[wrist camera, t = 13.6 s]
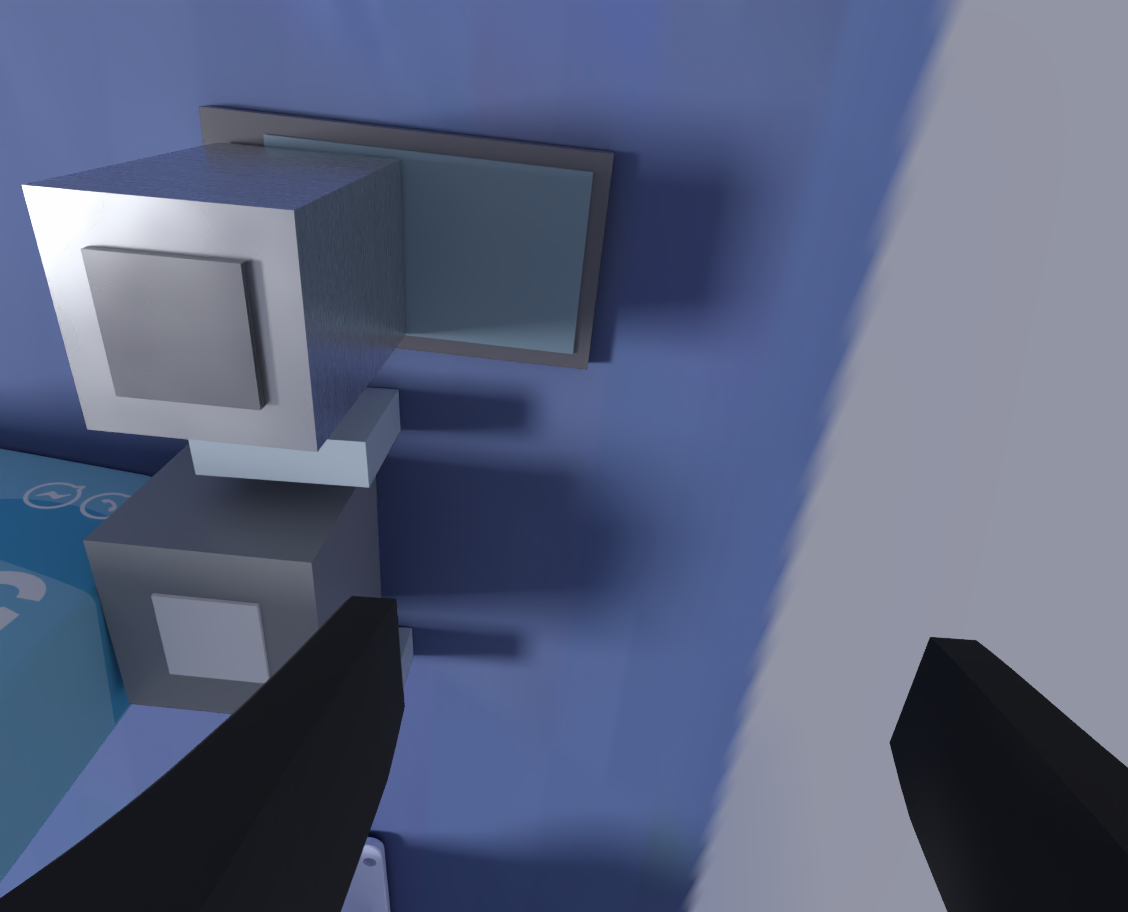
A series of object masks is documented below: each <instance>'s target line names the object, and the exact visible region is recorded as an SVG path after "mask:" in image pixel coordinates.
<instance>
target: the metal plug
mask: <svg viewBox="0 0 1128 912" xmlns="http://www.w3.org/2000/svg"><path fill="white" fill-rule="evenodd" d="M22 188H23V192H24V195H25V199H26V203H27V207H28V210H29V214H30V218H31V222H32V225H33V229H34V233H35V236H36V240H37V244H38V248H39V251H40V255H41V259H42V262H43V266H44V270H45V274H46V277H47V281H48V285H49V288H50V292H51V296H52V300H53V303H54V307H55V311H56V315H57V318H58V322H59V326H60V329H61V333H62V337H63V341H64V344H65V348H66V352H67V355H68V359H69V363H70V367H71V370H72V374H73V378H74V381H75V385H76V389H77V393H78V396H79V400H80V404H81V408H82V411H83V415H84V419H85V422H86V426H87V429H88V430H98V431H108V432H118V433H128V434H138V435H149V436H159V437H169V438H179V439H189V440H199V441H210V442H220V443H230V444H240V445H250V446H260V447H270V448H281V449H291V450H301V451H311V452H318V451H319V450H320V448H321V447H322V446H323V444H324V443H325V442H326V440H327V439H328V438H329V436H330V435H331V434H332V432H333V431H334V430H335V428H336V427H337V426H338V424H339V423H340V422H341V420H342V419H343V418H344V416H345V415H346V414H347V412H348V411H349V410H350V408H351V407H352V406H353V404H354V403H355V402H356V400H357V399H358V398H359V396H360V395H361V394H362V392H363V391H364V390H365V388H366V387H367V386H368V384H369V383H370V382H371V380H372V379H373V378H374V376H375V375H376V374H377V372H378V371H379V370H380V368H381V367H382V366H383V364H384V363H385V362H386V360H387V359H388V358H389V356H390V355H391V354H392V352H393V351H394V350H395V348H396V347H397V346H398V344H399V343H400V342H401V340H402V339H403V338H404V336H405V300H404V265H403V230H402V196H401V161H400V159H393V158H383V157H372V156H361V155H350V154H339V153H328V152H317V151H307V150H296V149H285V148H274V147H263V146H252V145H242V144H231V143H220V142H217V143H213V144H208V145H204V146H199V147H194V148H190V149H185V150H181V151H176V152H171V153H167V154H162V155H158V156H153V157H148V158H144V159H139V160H134V161H130V162H125V163H121V164H116V165H111V166H107V167H102V168H98V169H93V170H88V171H84V172H79V173H74V174H70V175H65V176H61V177H56V178H51V179H47V180H42V181H38V182H33V183H28V184H24V185H22Z"/></svg>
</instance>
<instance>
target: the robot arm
mask: <svg viewBox="0 0 1128 912" xmlns="http://www.w3.org/2000/svg"><path fill="white" fill-rule="evenodd" d="M404 707H405V705H404V692H403V679H402V667H401V654H400V641H399V628H398V616H397V603H396V599H389V598H375V597H361V596H351V597H350V598H349V599H347V600H346V601H345V602H344V603H343V604H342V605H341V606H340V607H339V608H338V609H337V610H336V611H335V612H334V613H333V614H332V615H331V616H330V617H329V618H328V619H327V621H326V622H325V623H324V624H323V625H322V626H321V627H320V628H319V629H318V630H317V631H316V632H315V633H314V634H313V635H312V636H311V637H310V638H309V639H308V640H307V641H306V642H305V643H304V644H303V645H302V646H301V647H300V648H299V650H298V651H297V652H296V653H295V654H294V655H293V656H292V657H291V658H290V659H289V660H288V661H287V662H286V663H285V664H284V665H283V666H282V667H281V668H280V669H279V670H278V671H277V672H276V673H275V674H274V675H273V676H271V677H270V678H269V679H268V680H267V681H266V682H265V683H264V684H263V685H262V686H261V687H260V688H259V689H258V690H257V691H256V692H255V693H254V694H253V695H252V696H251V697H250V698H249V699H248V700H247V701H246V702H245V703H244V704H242V705H241V706H240V707H239V708H238V709H237V710H236V711H235V712H234V713H233V714H232V715H231V716H230V717H229V718H228V719H227V720H225V721H224V722H223V723H222V724H221V725H220V726H219V727H218V728H217V729H215V730H214V731H213V732H212V733H211V734H210V735H209V736H207V737H206V738H205V739H204V740H203V741H202V742H201V743H200V744H198V745H197V746H196V747H195V748H194V749H193V750H192V751H191V752H189V753H188V754H187V755H186V756H185V757H184V758H183V759H181V760H180V761H179V762H178V763H177V764H176V765H175V766H174V767H172V768H171V769H170V770H169V771H168V772H167V773H165V774H164V775H163V776H162V777H161V778H159V779H158V780H157V781H156V782H155V783H153V784H152V785H151V786H150V787H149V788H147V789H146V790H145V791H144V792H142V793H141V794H140V795H139V796H138V797H136V798H135V799H134V800H133V801H131V802H130V803H129V804H128V805H126V806H125V807H124V808H123V809H121V810H120V811H119V812H117V813H116V814H115V815H114V816H112V817H111V818H110V819H108V820H107V821H106V822H105V823H103V824H102V825H101V826H99V827H98V828H97V829H95V830H94V831H93V832H92V833H90V834H89V835H88V836H86V837H85V838H84V839H82V840H81V841H80V842H78V843H77V844H76V845H74V846H73V847H72V848H70V849H69V850H68V851H66V852H65V853H63V854H62V855H61V856H59V857H58V858H56V859H55V860H54V861H52V862H51V863H50V864H48V865H47V866H45V867H44V868H43V869H41V870H40V871H38V872H37V873H36V874H34V875H33V876H31V877H30V878H29V879H27V880H26V881H24V882H23V883H22V884H20V885H19V886H17V887H16V888H14V889H13V890H12V891H10V892H9V893H7V894H6V895H4V896H3V897H1V898H0V912H391V911H390V901H389V891H388V881H387V871H386V861H385V851H384V845H383V843H382V842H381V841H380V840H378V839H376V838H372V837H368V834H369V831H370V829H371V826H372V823H373V820H374V817H375V814H376V812H377V809H378V806H379V803H380V800H381V797H382V794H383V791H384V789H385V786H386V783H387V780H388V776H389V772H390V768H391V764H392V760H393V755H394V751H395V747H396V743H397V738H398V734H399V730H400V725H401V721H402V716H403V712H404ZM890 746H891V750H892V754H893V758H894V762H895V766H896V769H897V773H898V778H899V781H900V785H901V789H902V792H903V795H904V799H905V803H906V806H907V810H908V813H909V817H910V820H911V822H912V825H913V827H914V830H915V832H916V835H917V838H918V840H919V843H920V845H921V848H922V850H923V853H924V855H925V858H926V860H927V863H928V865H929V868H930V870H931V873H932V875H933V877H934V880H935V882H936V885H937V887H938V890H939V892H940V895H941V897H942V900H943V902H944V904H945V907H946V909H947V911H948V912H1128V768H1127V767H1126V766H1125V765H1124V764H1123V763H1121V762H1120V761H1119V760H1118V759H1117V758H1116V757H1114V756H1113V755H1112V754H1111V753H1109V752H1108V751H1107V750H1106V749H1105V748H1104V747H1102V746H1101V745H1100V744H1099V743H1098V742H1096V741H1095V740H1094V739H1093V738H1092V737H1091V736H1089V735H1088V734H1087V733H1086V732H1085V731H1084V730H1082V729H1081V728H1080V727H1079V726H1078V725H1077V724H1075V723H1074V722H1073V721H1072V720H1071V719H1070V718H1068V717H1067V716H1066V715H1065V714H1064V713H1063V712H1061V711H1060V710H1059V709H1058V708H1057V707H1056V706H1054V705H1053V704H1052V703H1051V702H1050V701H1049V700H1047V699H1046V698H1045V697H1044V696H1043V695H1042V694H1040V693H1039V692H1038V691H1037V690H1036V689H1035V688H1033V687H1032V686H1031V685H1030V684H1029V683H1028V682H1026V681H1025V680H1024V679H1023V678H1022V677H1021V676H1019V675H1018V674H1017V673H1016V672H1015V671H1014V670H1012V669H1011V668H1010V667H1009V666H1008V665H1006V664H1005V663H1004V662H1003V661H1002V660H1000V659H999V658H998V657H997V656H995V655H994V654H993V653H992V652H991V651H989V650H988V649H987V648H985V647H984V646H983V645H982V644H980V643H979V642H978V641H976V640H964V639H951V638H936V637H930V639H929V641H928V644H927V646H926V649H925V652H924V654H923V657H922V660H921V662H920V665H919V667H918V670H917V673H916V675H915V678H914V681H913V683H912V686H911V689H910V691H909V693H908V696H907V699H906V701H905V704H904V706H903V709H902V712H901V714H900V717H899V720H898V722H897V725H896V727H895V730H894V733H893V735H892V738H891V740H890Z"/></svg>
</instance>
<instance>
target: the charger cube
mask: <svg viewBox="0 0 1128 912" xmlns="http://www.w3.org/2000/svg"><path fill="white" fill-rule="evenodd" d="M83 542H84V546H85V549H86V553H87V556H88V560H89V563H90V567H91V570H92V574H93V577H94V581H95V584H96V588H97V591H98V595H99V598H100V602H101V605H102V609H103V613H104V616H105V620H106V623H107V627H108V630H109V634H110V637H111V641H112V644H113V648H114V651H115V655H116V658H117V662H118V665H119V669H120V672H121V676H122V679H123V683H124V687H125V690H126V694H127V697H128V701H129V704H137V705H147V706H157V707H167V708H177V709H187V710H197V711H207V712H217V713H226V714H233V713H234V712H235V711H236V710H237V709H238V708H239V707H240V706H241V705H242V704H244V703H245V702H246V701H247V700H248V699H249V698H250V697H251V696H252V695H253V694H254V693H255V692H256V691H257V690H258V689H259V688H260V687H261V686H262V685H263V684H264V683H265V682H266V681H267V680H268V679H269V678H270V677H271V676H273V675H274V674H275V673H276V672H277V671H278V670H279V669H280V668H281V667H282V666H283V665H284V664H285V663H286V662H287V661H288V660H289V659H290V658H291V657H292V656H293V655H294V654H295V653H296V652H297V651H298V650H299V648H300V647H301V646H302V645H303V644H304V643H305V642H306V641H307V640H308V639H309V638H310V637H311V636H312V635H313V634H314V633H315V632H316V631H317V630H318V629H319V628H320V627H321V626H322V625H323V624H324V623H325V622H326V621H327V619H328V618H329V617H330V616H331V615H332V614H333V613H334V612H335V611H336V610H337V609H338V608H339V607H340V606H341V605H342V604H343V603H344V602H345V601H346V600H347V599H349V598H350V597H351V596H361V597H375V598H381V578H380V556H379V535H378V513H377V491H376V476H375V478H374V480H373V481H372V483H371V485H370V487H369V488H368V487H354V486H341V485H328V484H314V483H301V482H288V481H274V480H261V479H248V478H234V477H221V476H208V475H196V474H195V469H194V464H193V460H192V455H191V450H190V446H189V444H188V445H186V446H185V447H184V448H183V449H182V450H181V451H180V452H179V453H178V454H177V455H176V456H174V457H173V458H172V459H171V460H170V461H169V462H168V463H167V464H166V465H165V466H164V467H162V468H161V469H160V470H159V471H158V472H157V473H156V474H155V475H154V476H153V477H151V478H150V479H149V480H148V481H147V482H146V483H145V484H144V485H143V486H142V487H141V488H139V489H138V490H137V491H136V492H135V493H134V494H133V495H132V496H131V497H130V498H129V499H127V500H126V501H125V502H124V503H123V504H122V505H121V506H120V507H119V508H118V509H117V510H115V511H114V512H113V513H112V514H111V515H110V516H109V517H108V518H107V519H106V520H105V521H103V522H102V523H101V524H100V525H99V526H98V527H97V528H96V529H95V530H94V531H93V532H91V533H90V534H89V535H88V536H87V537H86V538H85V539H84V540H83Z"/></svg>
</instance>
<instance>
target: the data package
mask: <svg viewBox="0 0 1128 912" xmlns="http://www.w3.org/2000/svg"><path fill="white" fill-rule="evenodd" d="M150 478H151V477H150V476H147V475H142V474H137V473H131V472H126V471H120V470H115V469H110V468H104V467H99V466H93V465H88V464H82V463H77V462H71V461H66V460H61V459H55V458H50V457H44V456H39V455H33V454H28V453H22V452H17V451H12V450H6V449H1V448H0V882H1V881H2V880H3V878H4V877H5V876H6V874H7V873H8V871H9V870H10V869H11V867H12V866H13V865H14V863H15V862H16V861H17V859H18V858H19V856H20V855H21V854H22V852H23V851H24V850H25V848H26V847H27V846H28V844H29V843H30V842H31V840H32V839H33V837H34V836H35V835H36V833H37V832H38V831H39V829H40V828H41V827H42V825H43V824H44V823H45V821H46V820H47V818H48V817H49V816H50V814H51V813H52V812H53V810H54V809H55V808H56V806H57V805H58V803H59V802H60V801H61V799H62V798H63V797H64V795H65V794H66V793H67V791H68V790H69V789H70V787H71V786H72V784H73V783H74V782H75V780H76V779H77V778H78V776H79V775H80V774H81V772H82V771H83V769H84V768H85V767H86V765H87V764H88V763H89V761H90V760H91V759H92V757H93V756H94V755H95V753H96V752H97V750H98V749H99V748H100V746H101V745H102V744H103V742H104V741H105V740H106V738H107V737H108V736H109V734H110V733H111V731H112V730H113V729H114V727H115V726H116V725H117V723H118V722H119V721H120V719H121V718H122V716H123V715H124V714H125V712H126V711H127V710H128V708H129V707H130V706H131V704H129V701H128V697H127V694H126V690H125V687H124V683H123V679H122V676H121V672H120V669H119V665H118V662H117V658H116V655H115V651H114V648H113V644H112V641H111V637H110V634H109V630H108V627H107V623H106V620H105V616H104V613H103V609H102V605H101V602H100V598H99V595H98V591H97V588H96V584H95V581H94V577H93V574H92V570H91V567H90V563H89V560H88V556H87V553H86V549H85V546H84V542H83V540H84V539H85V538H86V537H87V536H88V535H89V534H90V533H91V532H93V531H94V530H95V529H96V528H97V527H98V526H99V525H100V524H101V523H102V522H103V521H105V520H106V519H107V518H108V517H109V516H110V515H111V514H112V513H113V512H114V511H115V510H117V509H118V508H119V507H120V506H121V505H122V504H123V503H124V502H125V501H126V500H127V499H129V498H130V497H131V496H132V495H133V494H134V493H135V492H136V491H137V490H138V489H139V488H141V487H142V486H143V485H144V484H145V483H146V482H147V481H148V480H149V479H150Z"/></svg>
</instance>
